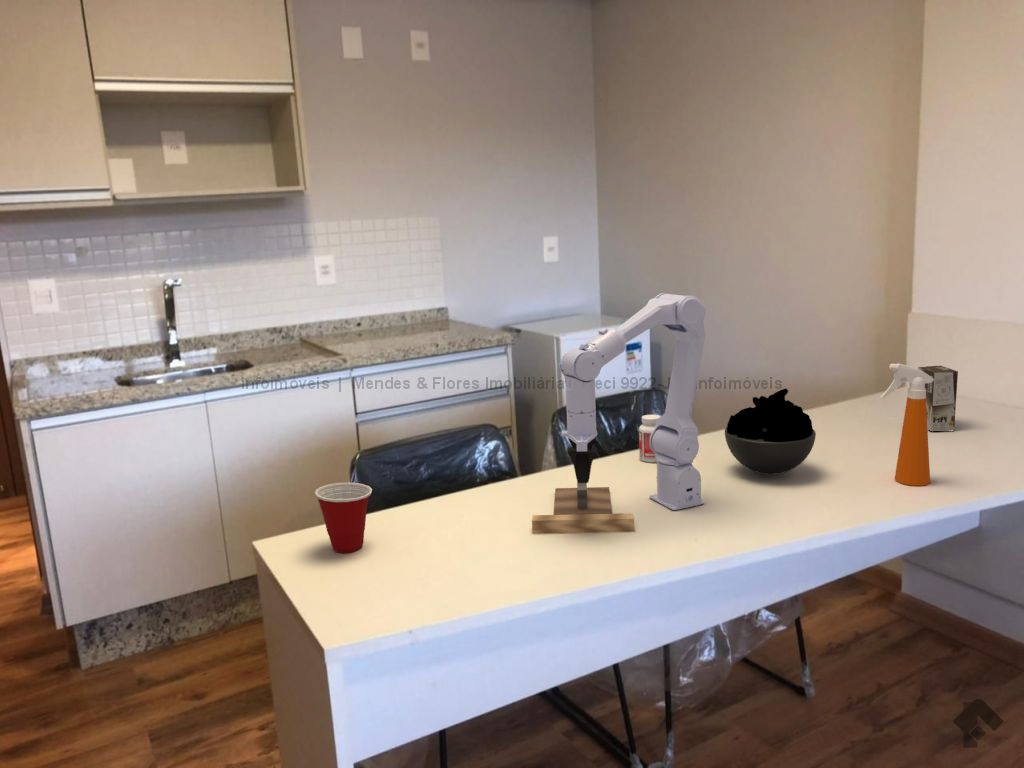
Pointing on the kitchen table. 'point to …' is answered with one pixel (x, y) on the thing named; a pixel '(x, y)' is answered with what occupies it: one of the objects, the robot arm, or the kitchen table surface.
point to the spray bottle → (912, 427)
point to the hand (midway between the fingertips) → (583, 476)
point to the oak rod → (583, 523)
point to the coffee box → (940, 397)
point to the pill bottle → (647, 438)
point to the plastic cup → (344, 514)
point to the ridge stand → (582, 500)
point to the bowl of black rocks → (770, 435)
